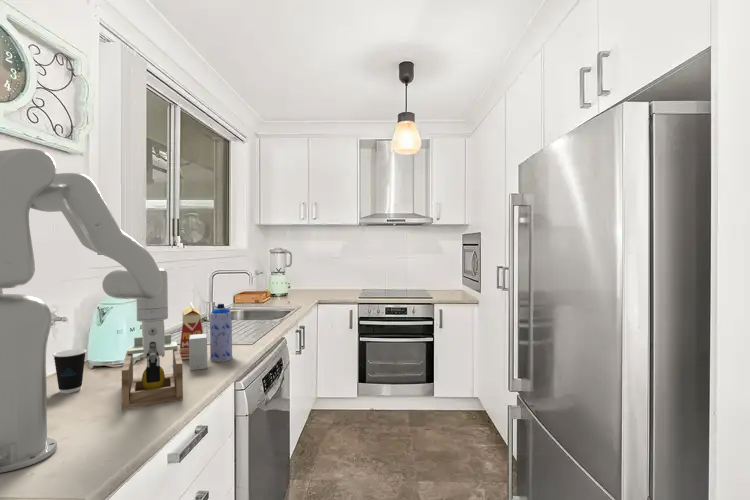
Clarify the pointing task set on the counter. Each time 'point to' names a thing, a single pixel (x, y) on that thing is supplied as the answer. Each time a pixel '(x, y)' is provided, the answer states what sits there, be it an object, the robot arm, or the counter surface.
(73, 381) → the dixie cup
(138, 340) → the lid
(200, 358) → the small box
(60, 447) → the counter surface
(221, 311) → the aerosol can
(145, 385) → the lemon
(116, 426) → the counter surface
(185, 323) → the milk carton
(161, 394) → the walnut box
